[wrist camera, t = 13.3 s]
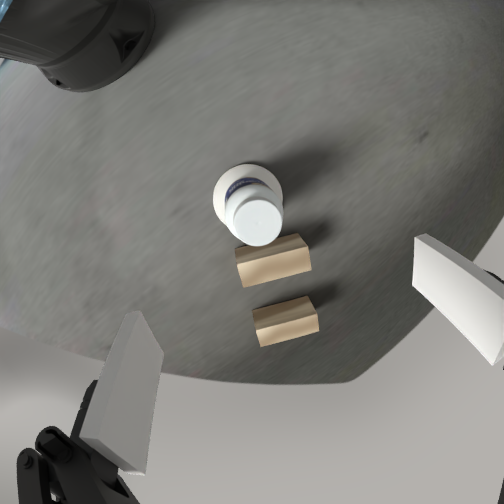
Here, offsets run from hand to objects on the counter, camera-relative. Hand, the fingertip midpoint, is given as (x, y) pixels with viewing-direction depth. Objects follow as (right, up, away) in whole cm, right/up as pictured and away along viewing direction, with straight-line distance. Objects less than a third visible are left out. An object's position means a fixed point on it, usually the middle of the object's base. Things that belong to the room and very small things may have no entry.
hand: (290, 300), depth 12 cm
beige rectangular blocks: (+1, -2, +25) cm, 25 cm away
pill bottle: (-2, +8, +20) cm, 21 cm away
